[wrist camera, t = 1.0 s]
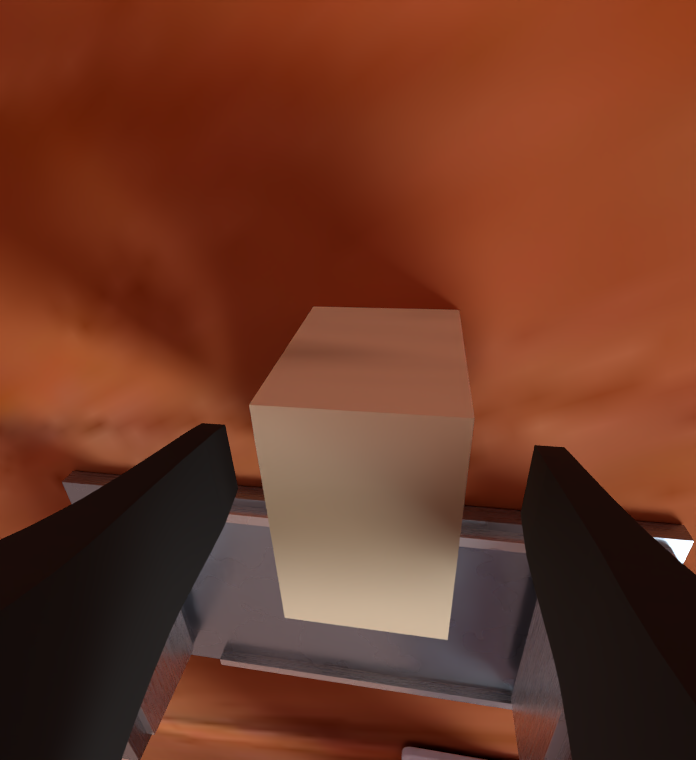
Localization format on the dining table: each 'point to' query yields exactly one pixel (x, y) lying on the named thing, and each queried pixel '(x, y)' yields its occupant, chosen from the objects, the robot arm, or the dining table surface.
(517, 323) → the dining table surface
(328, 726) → the dining table surface
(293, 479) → the block
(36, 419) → the dining table surface
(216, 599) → the vise
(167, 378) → the dining table surface
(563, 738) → the jaw
